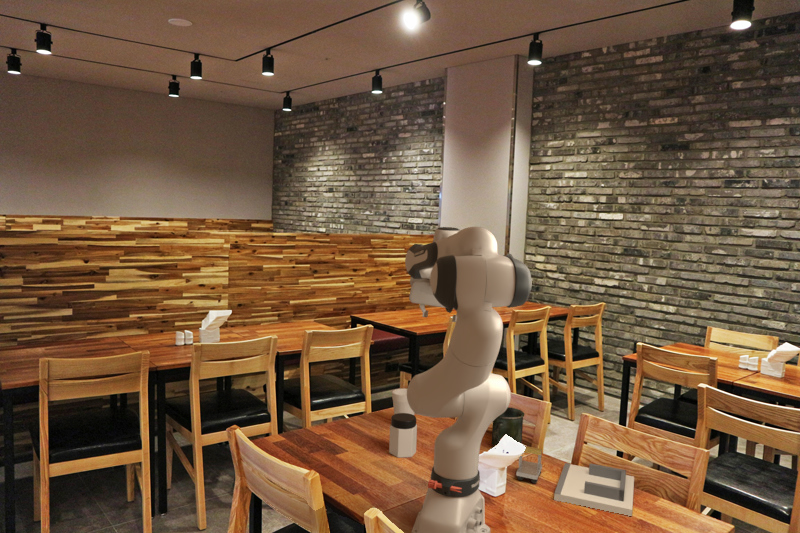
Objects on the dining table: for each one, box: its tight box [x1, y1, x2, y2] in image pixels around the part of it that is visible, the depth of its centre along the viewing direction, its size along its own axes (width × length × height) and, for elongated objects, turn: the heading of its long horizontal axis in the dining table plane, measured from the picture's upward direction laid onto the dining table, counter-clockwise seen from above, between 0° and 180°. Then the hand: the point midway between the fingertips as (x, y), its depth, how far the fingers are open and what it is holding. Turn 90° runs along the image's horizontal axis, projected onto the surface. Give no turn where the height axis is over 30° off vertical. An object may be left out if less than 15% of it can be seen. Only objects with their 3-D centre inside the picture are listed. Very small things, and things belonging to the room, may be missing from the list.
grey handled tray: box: [516, 445, 543, 484], centre depth 171 cm, size 9×6×9 cm
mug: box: [491, 406, 525, 448], centre depth 193 cm, size 11×15×12 cm
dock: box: [553, 462, 635, 517], centre depth 164 cm, size 22×20×5 cm
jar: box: [388, 413, 418, 459], centre depth 187 cm, size 9×8×12 cm
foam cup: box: [391, 387, 416, 416], centre depth 210 cm, size 10×9×13 cm
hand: (439, 318), depth 179 cm, fingers open, 8 cm apart
